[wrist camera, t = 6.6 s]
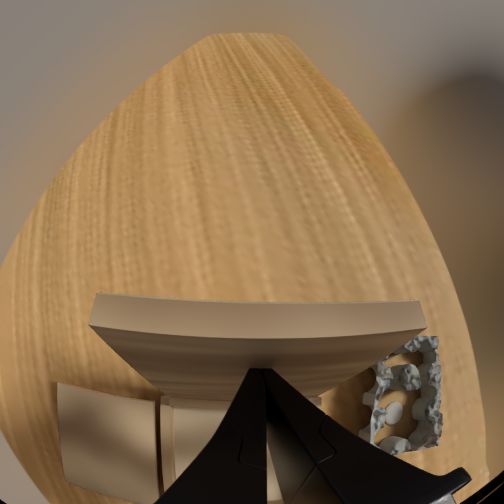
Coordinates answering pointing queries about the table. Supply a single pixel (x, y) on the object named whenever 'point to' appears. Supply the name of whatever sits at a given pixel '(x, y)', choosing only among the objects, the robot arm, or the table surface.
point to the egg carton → (422, 408)
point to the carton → (137, 441)
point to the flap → (250, 340)
